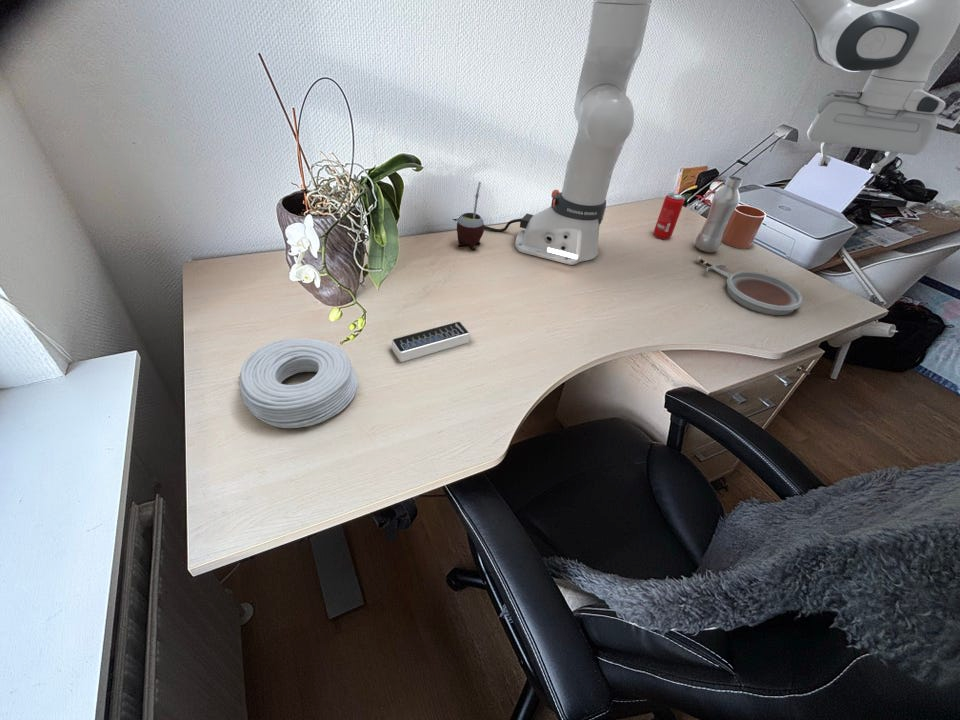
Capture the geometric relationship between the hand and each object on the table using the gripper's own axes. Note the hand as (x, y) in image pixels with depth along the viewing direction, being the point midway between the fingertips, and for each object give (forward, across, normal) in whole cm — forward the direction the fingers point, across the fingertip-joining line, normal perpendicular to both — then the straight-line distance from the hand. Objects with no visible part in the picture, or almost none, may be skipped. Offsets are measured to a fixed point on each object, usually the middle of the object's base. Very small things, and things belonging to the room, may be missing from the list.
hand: (847, 169), depth 96 cm
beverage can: (+29, -31, +16) cm, 46 cm away
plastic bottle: (+29, -19, +14) cm, 37 cm away
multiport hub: (+27, -68, -62) cm, 95 cm away
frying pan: (+29, -10, -4) cm, 31 cm away
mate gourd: (+28, -78, -19) cm, 85 cm away
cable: (+27, -81, -82) cm, 118 cm away
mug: (+29, -12, +25) cm, 40 cm away
